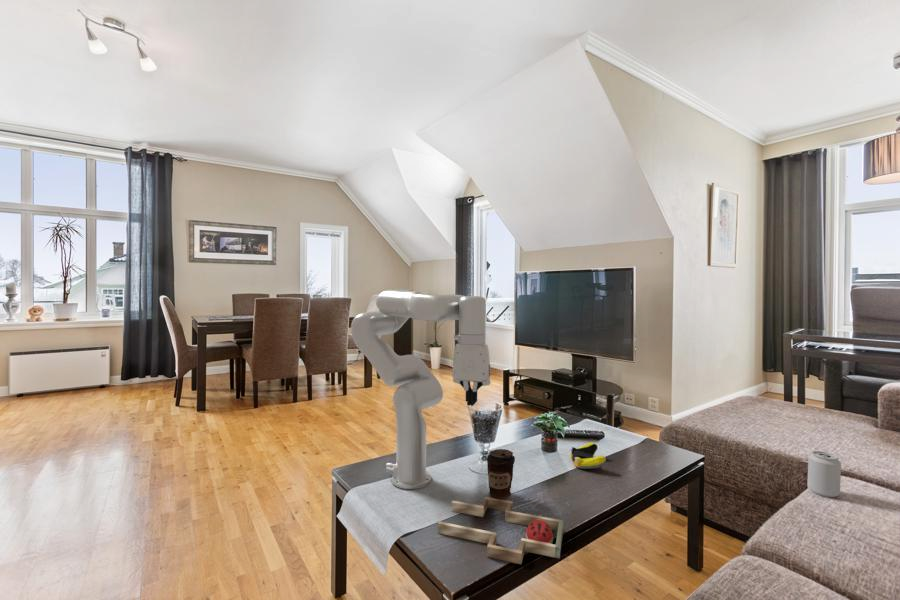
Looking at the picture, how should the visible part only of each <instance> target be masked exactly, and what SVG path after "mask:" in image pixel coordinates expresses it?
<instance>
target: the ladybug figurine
mask: <svg viewBox="0 0 900 600" xmlns="http://www.w3.org/2000/svg"><path fill="white" fill-rule="evenodd" d="M527 526H528V525H527ZM525 539H530V540H535V541H540V542H545V543H550V544H553V542H554V535H553V530H551V529H550V527H549V526H548V524H547V523H546V522H545V521H543V520H540V519H537V520H534V521H533V522H532V523H531V524H530V525H529V526H528V527H527V528H526V530H525Z"/></svg>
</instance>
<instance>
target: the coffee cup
mask: <svg viewBox="0 0 900 600" xmlns="http://www.w3.org/2000/svg"><path fill="white" fill-rule="evenodd" d="M515 462H516V457H515V456H514V453H513V451H512V450H509V449H504V448H498V449H497V448H496V449H494V450H490V451H489V453H488V455H487V456H486V464H487V467H486V468H487V476H488V477H487V478H488V480H487V481H488V488H489V491H488V492H489V497H490V498H495V499H500V500H508V499H510V498H512V493H511V490H512V482H513V477H514V464H515Z"/></svg>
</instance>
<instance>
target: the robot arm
mask: <svg viewBox="0 0 900 600" xmlns="http://www.w3.org/2000/svg"><path fill="white" fill-rule="evenodd" d="M486 303H487V302H486V298H484V296H479V295H463V294H422V293H421V292H419V291H418V290H409V289H387V290H384V291H382V292H380V293H379V294H378V295H377V297H376V300H375V306H376V308H377V309H378V311H377V310H376V311H366V312H361V313H358V314H357V315H356V316H355V317H354V318H353V319H352V321H351V323H350V324H351V325H350V332H351V336H352V340H353V342H354V345H355V346H356V347H357V348H358V349H359V351H360V352H361V353H362V354H363V355H364V356H365V357H366V358H367V360H368V361H369V362H370V364H371V367H373V368H374V370H375V371H376V373H377V374H378V376H379V378H381V380H382V381H383V382H384V384H385V385H386V386H387V387H397V388H396V389H395V390H394V393H393V398H392V400H393V408H394V412H395V422H396V423H395V424H396V425H395V426H396V427H395V428H396V431H395V432H396V433H395V434H396V438H395V439H396V440H395V441H396V444H395V445H396V449H395V450H396V456H395V457H396V460H395V461H396V463H392V462H386V464H385V472H387V473H391V474H392V475H391V484H393V485H394V486H395V487H396V488H399V489H404V490H417V489H420V488H424V487H426V486H427V485H429V484H430V483H431V480H432V475H431V473H430V472H429V471H427V422H426V420H425V417H424V416H423V414H422V411H424V410H426V409H429V408H432V407H434V406H437V405H438V404H439V403H440V402H441V401H442V400H443V396H444V389H443V387H442V384H441V383H440V382H439V379H438V378H437V377H436V375H434V373H433V372H432V370H431V369H430V368H429V367H428V365H427V364H426V363H425V362H424V360H423V359H422V358H421V357H420V356H417V355H415V354H405V355H400V354H397V353H396V352H395V351H394V350H393V348H392V346H391V345H389V344H388V343H387V342H386V341H385V340H383V339H382V338H380V337H378V336H386V335H393V334H395V333H397V332H398V331H399V330H400V329H401V328H402V327H403V326H404V324H405V323H407V321H408V320H409V319H410V318H411V319H412V320H417V321H423V322H424V321H425V322H433V323H434V322H435V323H437V322H438V323H439V322H447V321H448V322H449V321H457V320H458V333H457V334H454V335H453V339H454V340H455V341H457V343H456V344H455V347H454V351H453V360H452V372H451V373H452V378H453V379H452V382H453V383H455V384H458V385H460V386H461V387H462V388H463V390H464V391H465V402H466V404H467V406H471V407H474V405H475V404H476V403H477V402H478V390H479V389H480V388H482V387H486V386H489V385H490V384H491V383H492V382H491V379H490V377H491V359H490V351H489V346H488V344H486V331H487V330H486V329H487V327H486V325H487V324H486V318H487V317H486V316H487V315H486V308H487V304H486ZM471 382H473V384H472V385H471ZM471 386H472V387H471Z"/></svg>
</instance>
